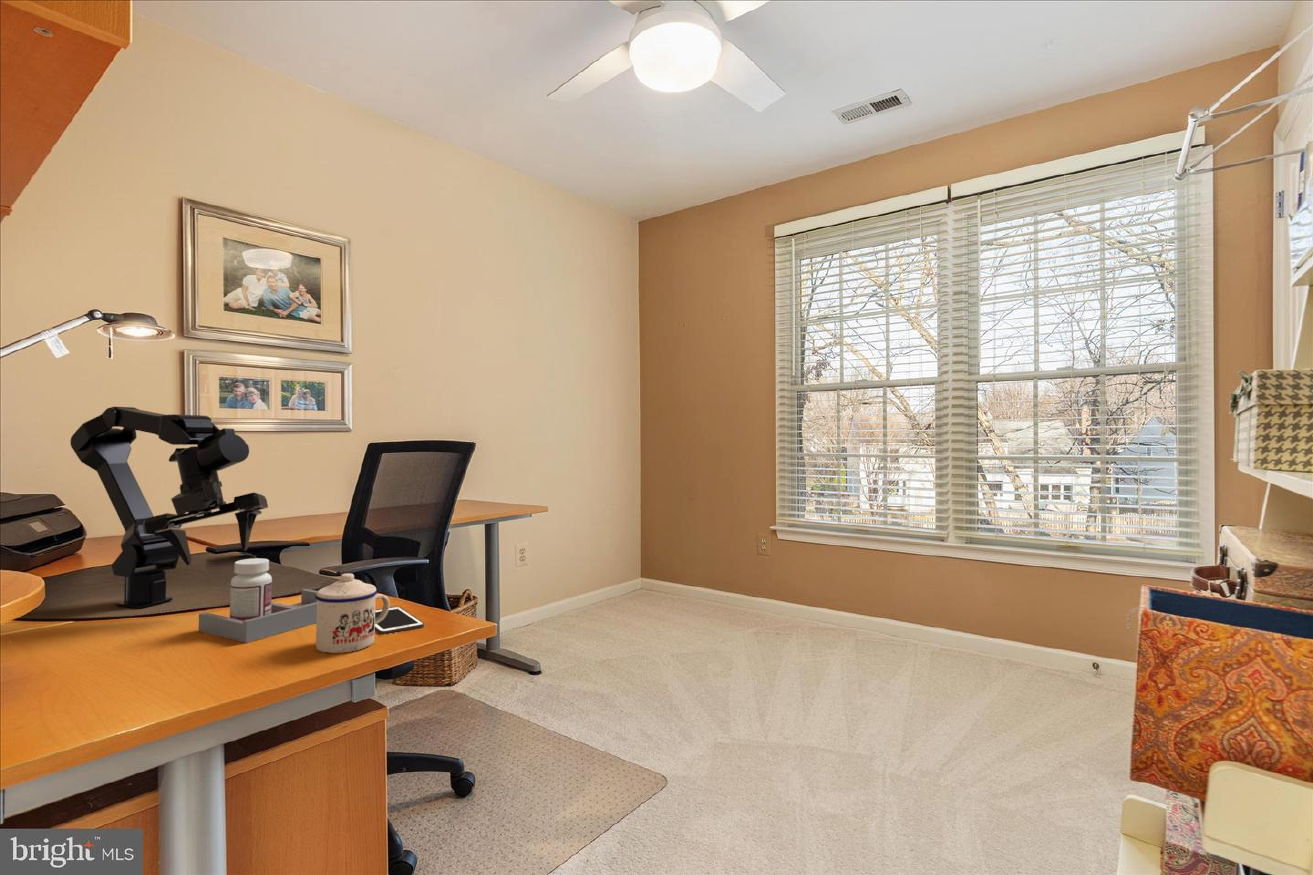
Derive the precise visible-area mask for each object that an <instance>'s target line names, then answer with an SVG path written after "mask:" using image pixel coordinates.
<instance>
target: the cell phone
mask: <svg viewBox="0 0 1313 875" xmlns="http://www.w3.org/2000/svg"><path fill="white" fill-rule="evenodd" d="M382 609H383V608H375V618H377V617H378V616H379V615H380V613H381V612H382ZM424 627H425V623H424V621H422V620H421V619H419V618H417V617H416V616H415V615H414V614H411V613H410V612H408V611H407V610H405V608H402V607H401V606H389V611H388V613H387V615H386V617H385V618H384V619H383V620H382V621H381V622H379V623H377V624H375V632H376V631H377V634H379V633H380V634H379V635H381V634H386V635H390V634H389V633H392V634H396V633H395V632H398V633H402V632H401V631H403V632H407V631H408V632H409V631H415V630H419V629H423V628H424Z"/></svg>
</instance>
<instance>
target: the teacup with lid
mask: <svg viewBox="0 0 1313 875" xmlns="http://www.w3.org/2000/svg"><path fill="white" fill-rule="evenodd" d="M317 591H318V592H317V594H316V596H315V598H316V599H317V623H316V625H315V626H316V630H315V631H316V633H315V634H316V635H315V636H316V637H315V648H316V650H318V651H320V652H322V653H325V652H329V653H328V654H341V653H340V652H347V653H351V652H352V651H353V652H357V651H360V649H361V650H364V649H366V648H368V647H370V646H371V645H372V644H374V642H375V633H376V631H375V624H377V623H379V622H381V621H382V620H383V619H384V618H385V617H386V615H387V613H388V611H389V607H391V605H390V599H389V597H388V596H387V595H385V594H382V593H378V590H377V587H376V586H375V585H373V584H371V583H365V582H363V580H360V579H356V578H355V575H354V574H353V573H342V574H341V575H340V580H339V579H338V580H336V581H334V582H333V583H332V584H330V585H328V586H324V587H322V588H320V589H318V590H317ZM380 599H381V600H382V602H383V606H382V608H381V609H382V612H381V613H380V615H379V616H378V617H377V618H375V610H376V600H380ZM367 646H368V647H367ZM365 647H366V648H365ZM363 648H364V649H363ZM356 650H357V651H356Z"/></svg>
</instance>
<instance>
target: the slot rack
mask: <svg viewBox="0 0 1313 875" xmlns="http://www.w3.org/2000/svg"><path fill="white" fill-rule="evenodd" d="M318 591H319V590H316V589H315V590H314V589H309V588H303V589H301V593H300V594H301V595H300V596H301V599H300V600H301V601H300V602H298V603H297V602H296V603H294V604H289V605H287V604H282V603H278V602H272V601H271V614H268V615H264V616H260V617H256V618H253V619H249V620H245V621H241V620H237V619H232V618H230V617H227V616H225V615H224V616H223V615H220V614H214V613H210V612H206V611H204V612H200V613H198V632H202V633H205V634H210V635H212V636H215V637H217V636H218V637H221V638H223V639H224V638H226V639H228V640H233V641H237V642H241V643H245V644H248V643H252V642H255V641H258V640H262V639H266V638H269V637H272V636H273V637H274V636H276V635H279V634H283V633H285V632H289V631H293V630H296V629H300V628H304V627H307V626H310V625H314V624H317V599H316V598H315V596H316V594H317V592H318Z"/></svg>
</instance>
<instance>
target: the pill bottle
mask: <svg viewBox="0 0 1313 875" xmlns="http://www.w3.org/2000/svg"><path fill="white" fill-rule="evenodd" d="M233 566H234V567H233V568H234V570H233V573H234V574H236V575H234V577H232V579H231V580H230V587H229V588H230V589H229V590H230V591H229V618H232V619H237V620H241V621H245V620H249V619H253V618H256V617H260V616H264V615H268V614H271V602H272V600H273V599H272V598H273V596H272V590H273V587H272V585H273V577H272V575H271V574H270V573H269V572H268V571H269V570H270V560H269V559H268V558H245V559H240V560H239V559H238V560H237V561H235V562H234V565H233Z"/></svg>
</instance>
